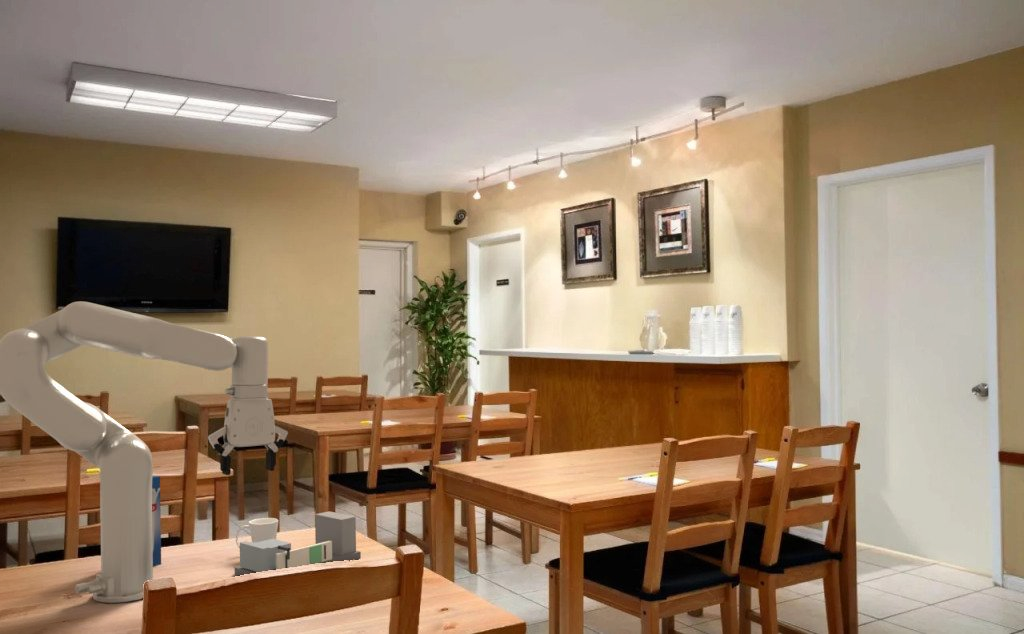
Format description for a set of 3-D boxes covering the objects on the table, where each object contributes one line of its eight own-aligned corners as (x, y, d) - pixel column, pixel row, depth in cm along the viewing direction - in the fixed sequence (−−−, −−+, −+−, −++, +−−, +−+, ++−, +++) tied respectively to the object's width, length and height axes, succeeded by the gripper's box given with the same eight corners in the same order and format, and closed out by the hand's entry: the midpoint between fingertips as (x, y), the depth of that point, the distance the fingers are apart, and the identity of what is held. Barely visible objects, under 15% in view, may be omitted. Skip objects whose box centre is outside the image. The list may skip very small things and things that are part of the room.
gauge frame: (266, 584, 175) (265, 538, 175) (234, 574, 183) (233, 530, 183) (361, 558, 194) (360, 516, 194) (328, 550, 202) (328, 510, 202)
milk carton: (120, 574, 184) (119, 483, 185) (104, 570, 188) (103, 481, 188) (161, 563, 193) (160, 476, 193) (145, 560, 196) (144, 474, 196)
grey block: (270, 575, 175) (269, 550, 175) (239, 566, 182) (239, 542, 182) (301, 567, 180) (300, 543, 180) (270, 559, 188) (270, 535, 188)
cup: (275, 558, 195) (274, 523, 195) (231, 559, 195) (231, 524, 195) (282, 550, 202) (282, 517, 202) (240, 552, 202) (240, 518, 202)
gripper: (215, 395, 175) (214, 478, 174) (294, 392, 185) (293, 470, 185) (203, 393, 180) (202, 473, 180) (280, 391, 191) (279, 466, 191)
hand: (248, 472), depth 182 cm, fingers open, 9 cm apart
